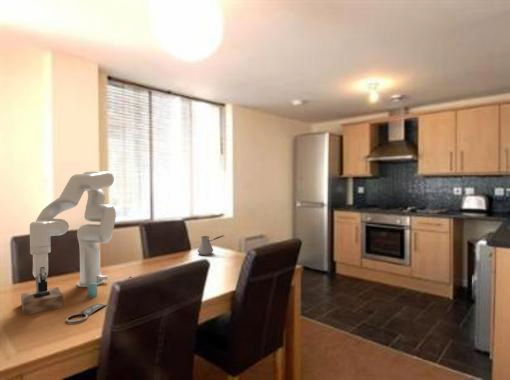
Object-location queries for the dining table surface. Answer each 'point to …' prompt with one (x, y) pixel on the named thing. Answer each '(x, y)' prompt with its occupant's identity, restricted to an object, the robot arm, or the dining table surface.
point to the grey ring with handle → (84, 313)
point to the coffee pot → (206, 245)
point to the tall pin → (38, 294)
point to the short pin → (92, 289)
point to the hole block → (41, 301)
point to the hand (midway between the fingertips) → (41, 288)
